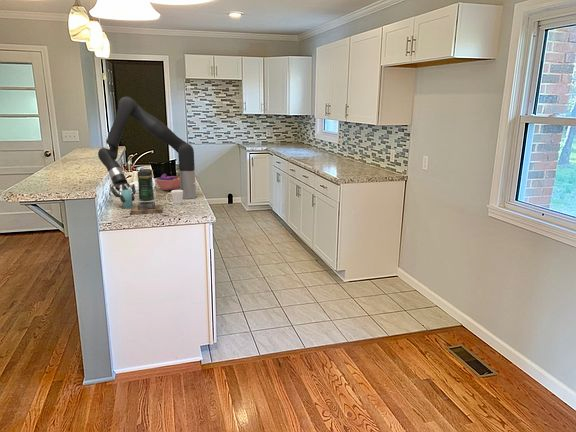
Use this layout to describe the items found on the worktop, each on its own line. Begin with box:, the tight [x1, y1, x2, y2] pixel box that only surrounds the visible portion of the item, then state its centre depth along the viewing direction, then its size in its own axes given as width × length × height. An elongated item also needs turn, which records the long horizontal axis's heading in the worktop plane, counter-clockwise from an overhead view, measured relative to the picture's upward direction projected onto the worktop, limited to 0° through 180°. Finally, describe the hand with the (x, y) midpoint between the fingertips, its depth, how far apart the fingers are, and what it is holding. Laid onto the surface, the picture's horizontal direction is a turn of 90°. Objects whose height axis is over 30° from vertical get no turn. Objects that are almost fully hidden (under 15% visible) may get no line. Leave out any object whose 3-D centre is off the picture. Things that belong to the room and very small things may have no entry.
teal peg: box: [122, 189, 134, 210], centre depth 246 cm, size 5×5×10 cm
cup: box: [165, 189, 183, 206], centre depth 254 cm, size 7×10×8 cm
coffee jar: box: [137, 168, 155, 202], centre depth 266 cm, size 10×8×19 cm
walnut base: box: [130, 200, 163, 216], centre depth 239 cm, size 16×12×4 cm
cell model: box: [154, 173, 180, 192], centre depth 294 cm, size 17×20×11 cm
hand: (128, 200), depth 245 cm, fingers closed on teal peg, 5 cm apart
